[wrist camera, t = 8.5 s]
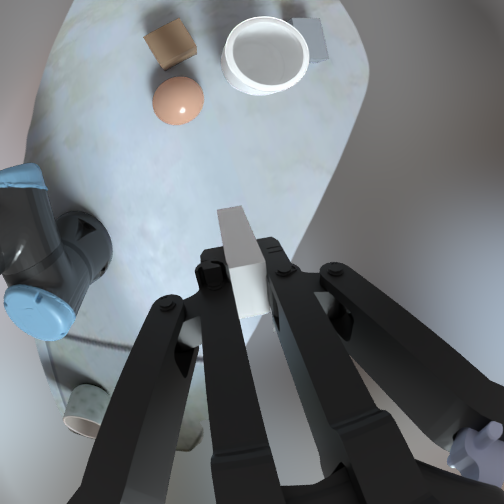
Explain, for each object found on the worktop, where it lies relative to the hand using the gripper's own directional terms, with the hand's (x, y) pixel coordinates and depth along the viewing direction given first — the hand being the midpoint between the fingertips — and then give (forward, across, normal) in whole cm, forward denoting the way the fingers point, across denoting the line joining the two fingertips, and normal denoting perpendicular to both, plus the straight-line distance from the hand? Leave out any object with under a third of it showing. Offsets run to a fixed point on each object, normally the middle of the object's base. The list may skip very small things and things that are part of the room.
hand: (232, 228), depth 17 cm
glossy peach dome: (+33, -4, +10) cm, 34 cm away
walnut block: (+33, -4, +20) cm, 38 cm away
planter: (+33, -54, -63) cm, 89 cm away
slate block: (+33, +18, +19) cm, 42 cm away
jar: (+33, +8, +14) cm, 36 cm away
